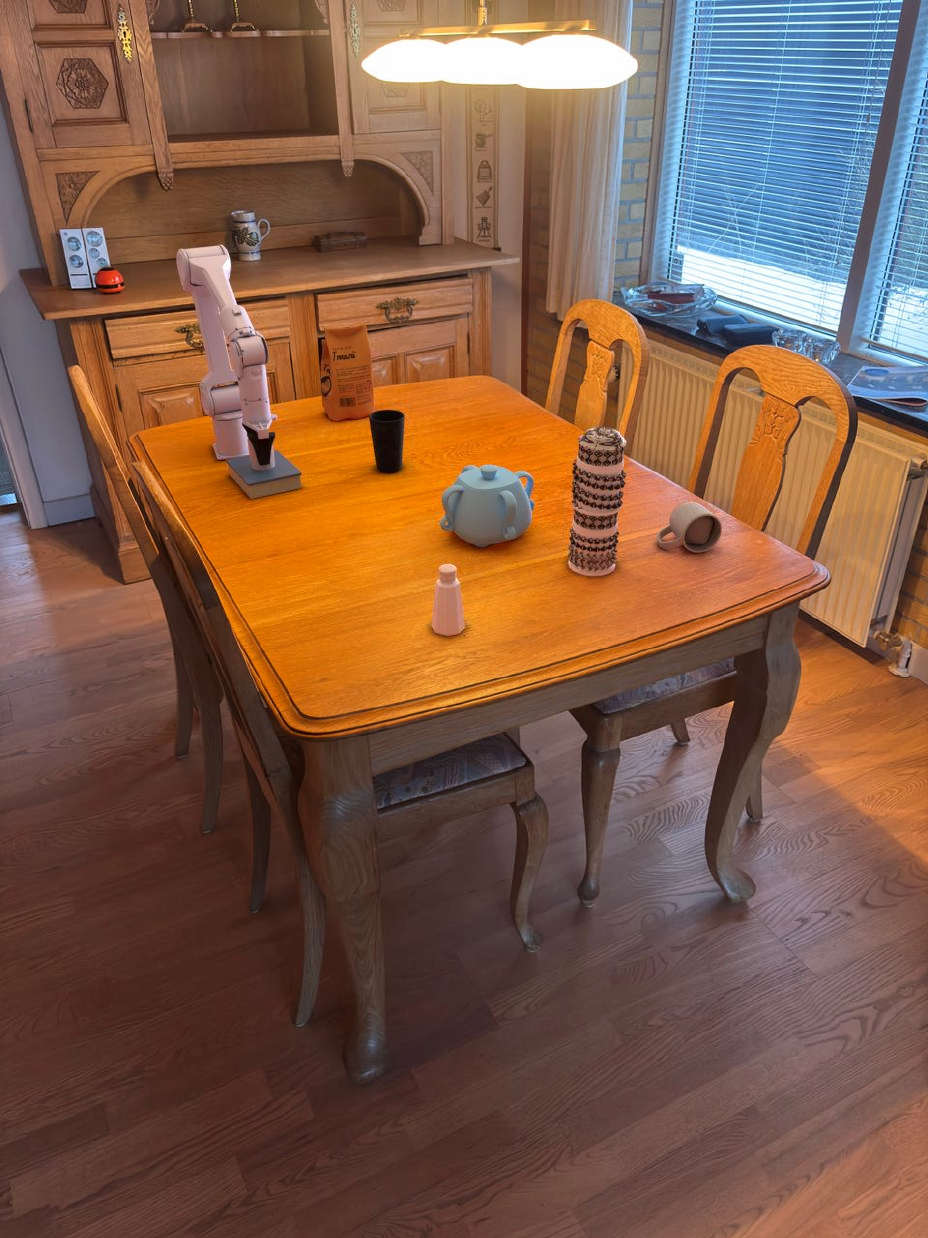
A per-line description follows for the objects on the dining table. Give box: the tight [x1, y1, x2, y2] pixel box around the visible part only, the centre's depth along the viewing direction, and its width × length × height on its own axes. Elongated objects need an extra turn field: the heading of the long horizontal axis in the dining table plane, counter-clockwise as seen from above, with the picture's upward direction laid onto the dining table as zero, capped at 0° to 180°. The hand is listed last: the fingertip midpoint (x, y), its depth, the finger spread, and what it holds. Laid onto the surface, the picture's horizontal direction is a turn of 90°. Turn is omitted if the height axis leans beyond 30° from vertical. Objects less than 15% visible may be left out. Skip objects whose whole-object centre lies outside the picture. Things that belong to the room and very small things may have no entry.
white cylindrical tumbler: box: [247, 439, 275, 471], centre depth 195 cm, size 5×5×6 cm
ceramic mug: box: [656, 500, 723, 554], centre depth 172 cm, size 11×8×8 cm
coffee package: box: [320, 322, 376, 422], centre depth 228 cm, size 10×12×22 cm
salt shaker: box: [431, 563, 466, 637], centre depth 146 cm, size 5×5×11 cm
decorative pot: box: [439, 464, 536, 548], centre depth 174 cm, size 16×16×14 cm
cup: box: [368, 409, 406, 474], centre depth 201 cm, size 8×8×12 cm
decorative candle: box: [567, 426, 628, 577], centre depth 160 cm, size 9×9×25 cm
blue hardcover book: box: [225, 449, 303, 500], centre depth 197 cm, size 15×12×4 cm
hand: (262, 459), depth 196 cm, fingers closed on white cylindrical tumbler, 5 cm apart
